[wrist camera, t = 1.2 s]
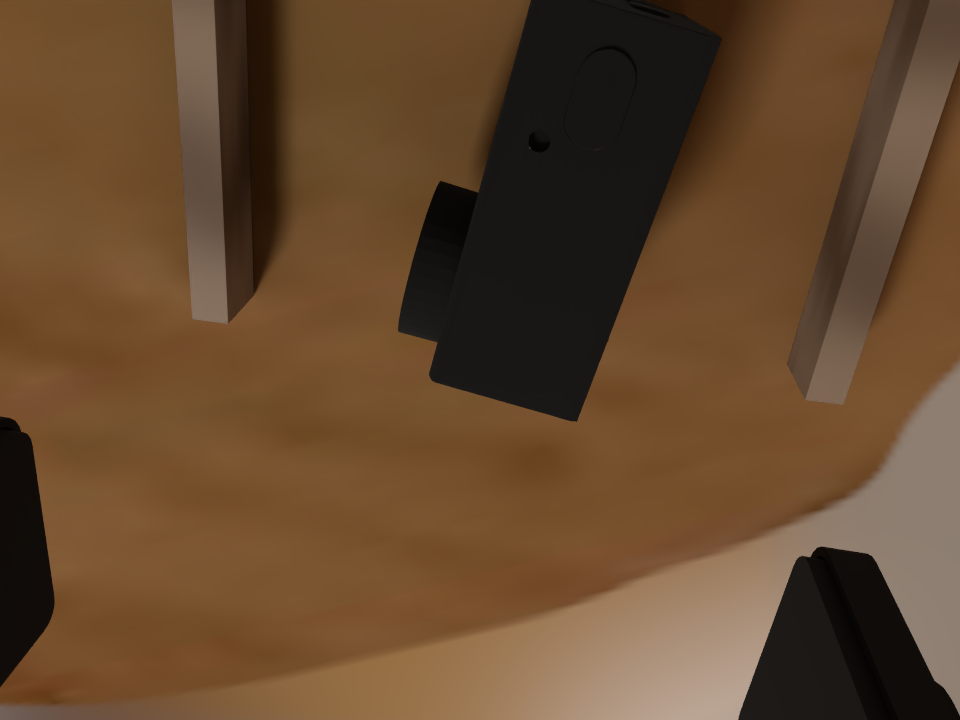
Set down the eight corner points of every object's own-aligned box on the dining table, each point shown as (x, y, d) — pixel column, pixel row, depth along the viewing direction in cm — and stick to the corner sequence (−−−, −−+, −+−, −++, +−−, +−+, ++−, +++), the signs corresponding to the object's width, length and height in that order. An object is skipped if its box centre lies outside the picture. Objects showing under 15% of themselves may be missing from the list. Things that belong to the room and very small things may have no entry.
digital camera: (507, -43, 24) (484, -39, 18) (686, 11, 24) (725, 34, 18) (424, 279, 29) (384, 371, 23) (575, 322, 29) (576, 425, 23)
